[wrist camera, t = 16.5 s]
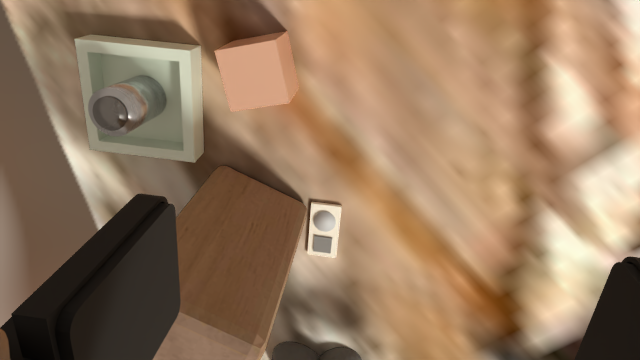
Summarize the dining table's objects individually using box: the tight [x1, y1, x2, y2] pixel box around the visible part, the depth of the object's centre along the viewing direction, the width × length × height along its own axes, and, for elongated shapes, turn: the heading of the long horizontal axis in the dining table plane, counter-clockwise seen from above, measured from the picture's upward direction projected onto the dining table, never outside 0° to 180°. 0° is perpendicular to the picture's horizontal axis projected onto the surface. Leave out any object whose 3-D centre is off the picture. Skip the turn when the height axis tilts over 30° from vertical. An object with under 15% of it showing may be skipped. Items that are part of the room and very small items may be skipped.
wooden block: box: [153, 166, 307, 360], centre depth 40 cm, size 10×10×20 cm
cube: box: [215, 31, 299, 112], centre depth 40 cm, size 5×5×5 cm
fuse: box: [88, 75, 166, 137], centre depth 41 cm, size 4×4×6 cm
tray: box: [74, 34, 204, 163], centre depth 44 cm, size 10×10×3 cm
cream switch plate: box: [307, 202, 342, 258], centre depth 49 cm, size 6×3×1 cm, turn 176°
